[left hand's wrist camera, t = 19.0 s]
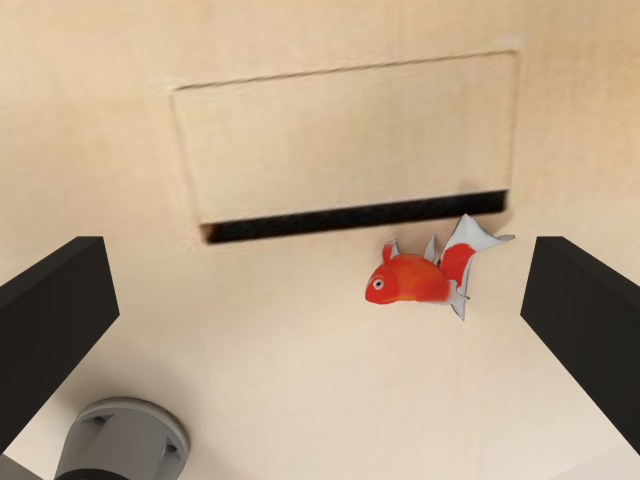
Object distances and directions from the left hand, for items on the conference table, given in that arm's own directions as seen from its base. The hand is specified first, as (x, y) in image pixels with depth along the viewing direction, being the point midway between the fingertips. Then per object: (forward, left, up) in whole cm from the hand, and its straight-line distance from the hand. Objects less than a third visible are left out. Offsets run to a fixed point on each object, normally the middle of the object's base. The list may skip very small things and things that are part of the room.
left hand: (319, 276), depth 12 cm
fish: (-4, -16, -29) cm, 33 cm away
